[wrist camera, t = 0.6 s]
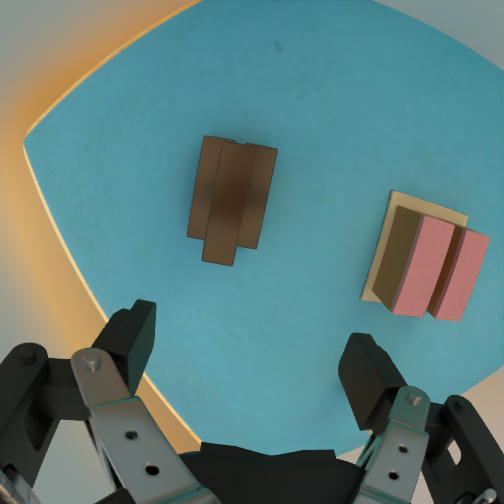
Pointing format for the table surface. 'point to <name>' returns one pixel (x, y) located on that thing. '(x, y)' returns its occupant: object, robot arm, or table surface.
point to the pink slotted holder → (424, 260)
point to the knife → (228, 202)
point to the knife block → (254, 197)
